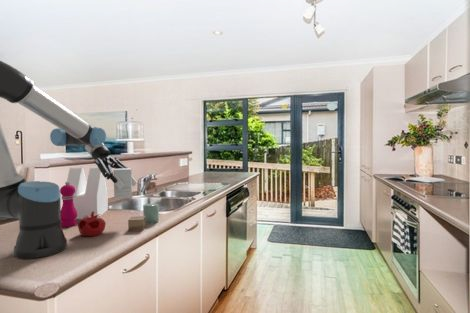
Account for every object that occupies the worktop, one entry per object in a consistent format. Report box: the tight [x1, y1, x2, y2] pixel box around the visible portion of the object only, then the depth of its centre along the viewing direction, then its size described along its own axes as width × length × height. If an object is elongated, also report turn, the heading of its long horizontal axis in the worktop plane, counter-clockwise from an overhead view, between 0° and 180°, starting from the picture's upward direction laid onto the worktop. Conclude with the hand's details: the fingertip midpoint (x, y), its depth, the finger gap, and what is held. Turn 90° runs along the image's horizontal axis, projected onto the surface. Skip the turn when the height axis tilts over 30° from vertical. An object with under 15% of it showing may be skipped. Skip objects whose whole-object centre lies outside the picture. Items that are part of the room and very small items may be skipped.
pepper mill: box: [59, 181, 77, 228], centre depth 128 cm, size 7×7×20 cm
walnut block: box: [127, 215, 147, 232], centre depth 122 cm, size 6×6×5 cm
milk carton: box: [66, 166, 109, 220], centre depth 148 cm, size 19×15×25 cm
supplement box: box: [113, 167, 133, 199], centre depth 127 cm, size 7×7×13 cm
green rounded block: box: [142, 203, 160, 224], centre depth 133 cm, size 7×7×8 cm
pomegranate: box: [77, 212, 107, 237], centre depth 114 cm, size 10×10×9 cm
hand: (129, 185), depth 127 cm, fingers closed on supplement box, 10 cm apart
